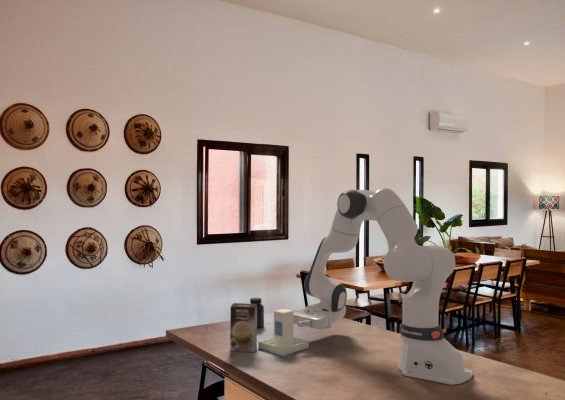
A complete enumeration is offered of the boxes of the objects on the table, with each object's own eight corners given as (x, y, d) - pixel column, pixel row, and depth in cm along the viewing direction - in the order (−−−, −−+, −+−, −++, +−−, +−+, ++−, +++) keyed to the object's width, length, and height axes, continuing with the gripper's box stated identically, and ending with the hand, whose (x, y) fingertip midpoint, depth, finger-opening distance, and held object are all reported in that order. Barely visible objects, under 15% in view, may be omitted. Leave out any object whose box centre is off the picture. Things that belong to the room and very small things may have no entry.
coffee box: (229, 351, 173) (229, 306, 173) (232, 346, 179) (232, 302, 180) (254, 352, 172) (254, 307, 172) (257, 347, 179) (257, 303, 179)
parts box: (293, 346, 177) (293, 310, 177) (283, 349, 173) (283, 313, 173) (283, 343, 180) (283, 308, 181) (273, 346, 177) (273, 310, 177)
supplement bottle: (257, 323, 213) (257, 296, 213) (267, 326, 208) (267, 298, 208) (244, 326, 209) (244, 298, 209) (254, 329, 204) (254, 300, 204)
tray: (308, 348, 177) (308, 341, 177) (283, 356, 168) (283, 348, 168) (283, 341, 186) (283, 334, 186) (258, 348, 177) (258, 341, 177)
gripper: (294, 304, 196) (270, 309, 186) (334, 312, 182) (310, 318, 172) (294, 319, 196) (270, 325, 186) (334, 328, 182) (310, 336, 172)
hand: (289, 322), depth 179 cm, fingers open, 8 cm apart
